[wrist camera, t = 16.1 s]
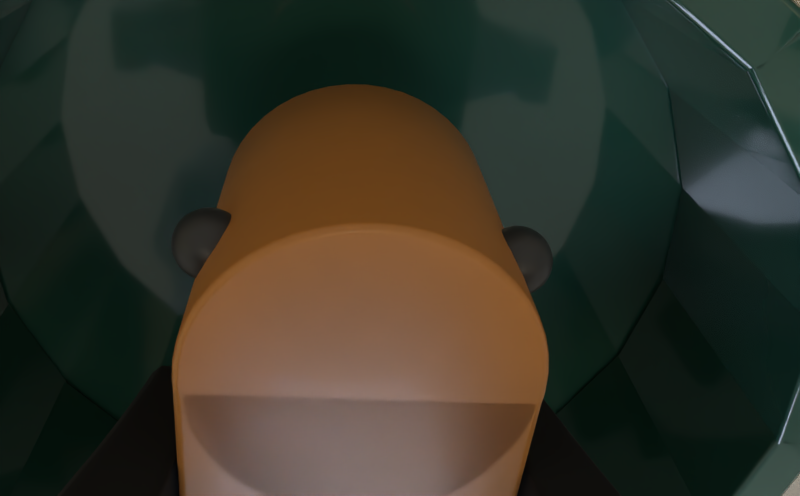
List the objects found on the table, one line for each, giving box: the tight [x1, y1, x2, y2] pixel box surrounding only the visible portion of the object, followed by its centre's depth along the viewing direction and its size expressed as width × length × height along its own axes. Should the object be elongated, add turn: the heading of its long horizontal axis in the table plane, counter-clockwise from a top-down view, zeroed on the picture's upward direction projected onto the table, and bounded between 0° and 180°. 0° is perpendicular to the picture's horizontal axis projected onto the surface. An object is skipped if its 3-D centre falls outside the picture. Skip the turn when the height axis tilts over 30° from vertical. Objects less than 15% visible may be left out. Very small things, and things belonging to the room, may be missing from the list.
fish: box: [171, 84, 553, 496], centre depth 9 cm, size 8×4×4 cm, turn 174°
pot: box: [0, 0, 800, 496], centre depth 12 cm, size 14×14×5 cm
